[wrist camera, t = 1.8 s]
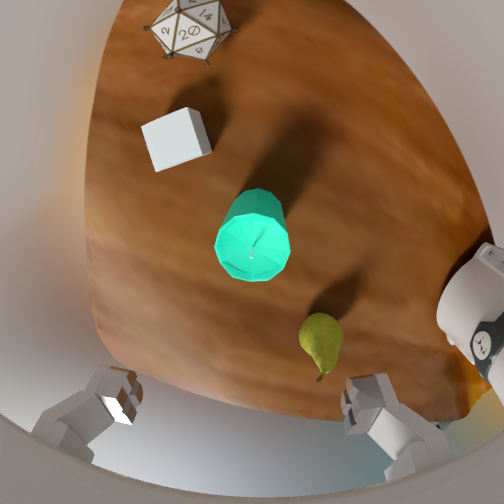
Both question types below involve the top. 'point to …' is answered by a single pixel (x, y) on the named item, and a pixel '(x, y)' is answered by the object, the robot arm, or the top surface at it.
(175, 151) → the grey block
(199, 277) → the top surface
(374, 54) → the top surface
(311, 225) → the top surface
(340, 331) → the fruit
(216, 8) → the game die
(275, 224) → the candle
